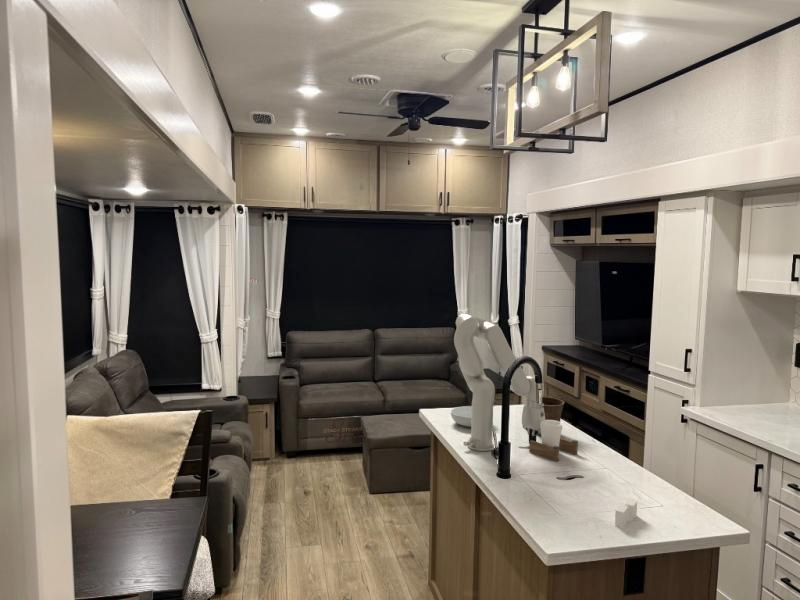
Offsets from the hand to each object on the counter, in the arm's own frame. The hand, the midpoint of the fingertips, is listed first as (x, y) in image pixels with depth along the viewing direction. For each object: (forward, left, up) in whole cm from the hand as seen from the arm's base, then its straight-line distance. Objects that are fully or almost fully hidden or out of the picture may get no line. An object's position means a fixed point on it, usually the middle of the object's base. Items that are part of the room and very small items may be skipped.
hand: (532, 443), depth 241 cm
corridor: (0, -11, -1) cm, 11 cm away
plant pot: (+20, +8, -1) cm, 22 cm away
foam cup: (0, -10, -1) cm, 10 cm away
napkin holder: (-33, -64, -2) cm, 72 cm away
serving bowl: (+1, +40, -2) cm, 40 cm away
